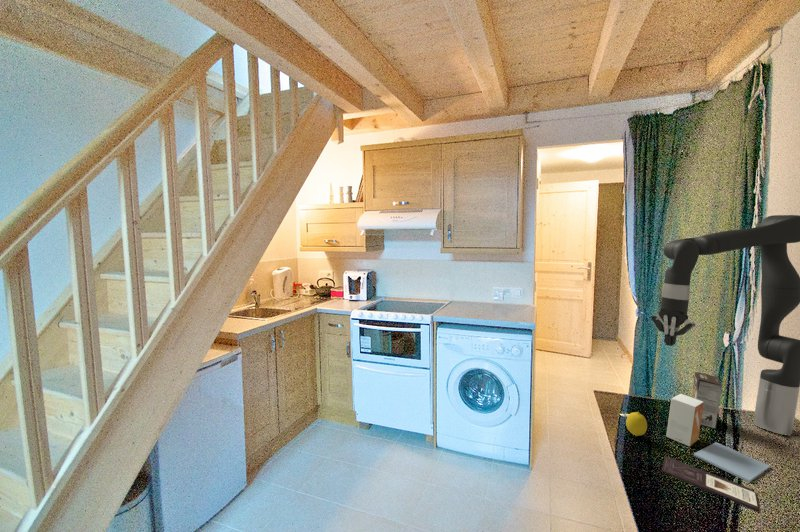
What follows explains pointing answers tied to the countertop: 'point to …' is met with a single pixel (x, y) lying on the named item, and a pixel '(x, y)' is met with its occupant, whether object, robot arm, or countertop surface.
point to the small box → (684, 419)
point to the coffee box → (707, 397)
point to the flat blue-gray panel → (732, 461)
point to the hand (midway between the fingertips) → (669, 345)
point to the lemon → (636, 423)
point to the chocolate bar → (710, 482)
